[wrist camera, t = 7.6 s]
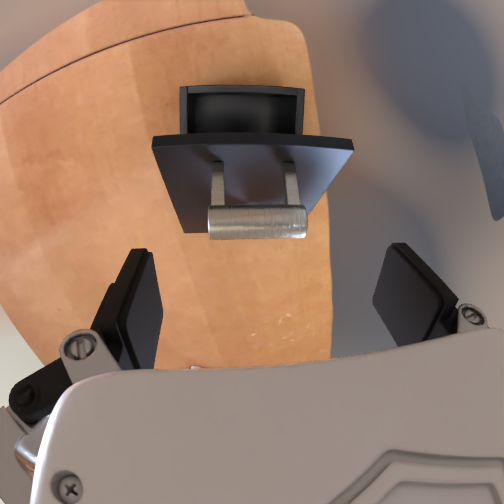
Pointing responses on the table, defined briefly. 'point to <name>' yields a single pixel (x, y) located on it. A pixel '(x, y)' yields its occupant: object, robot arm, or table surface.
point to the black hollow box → (241, 109)
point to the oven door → (248, 181)
